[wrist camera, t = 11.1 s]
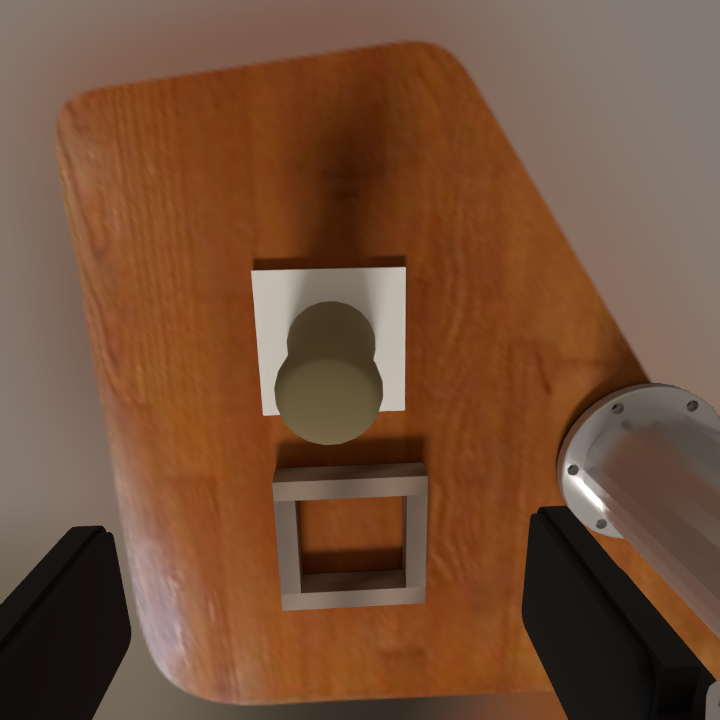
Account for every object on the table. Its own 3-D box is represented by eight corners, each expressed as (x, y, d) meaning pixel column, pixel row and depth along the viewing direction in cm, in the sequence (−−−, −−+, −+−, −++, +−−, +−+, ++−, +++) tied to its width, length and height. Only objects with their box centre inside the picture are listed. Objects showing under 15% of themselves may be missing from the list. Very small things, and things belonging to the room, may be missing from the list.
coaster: (404, 266, 30) (405, 267, 30) (403, 407, 33) (404, 410, 32) (252, 270, 30) (251, 270, 29) (264, 412, 32) (263, 415, 32)
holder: (422, 462, 34) (428, 476, 32) (420, 583, 37) (424, 602, 35) (275, 468, 34) (272, 482, 32) (285, 590, 37) (282, 610, 35)
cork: (289, 296, 30) (263, 331, 19) (380, 305, 30) (404, 344, 20) (283, 383, 31) (256, 460, 21) (370, 391, 32) (387, 469, 21)
